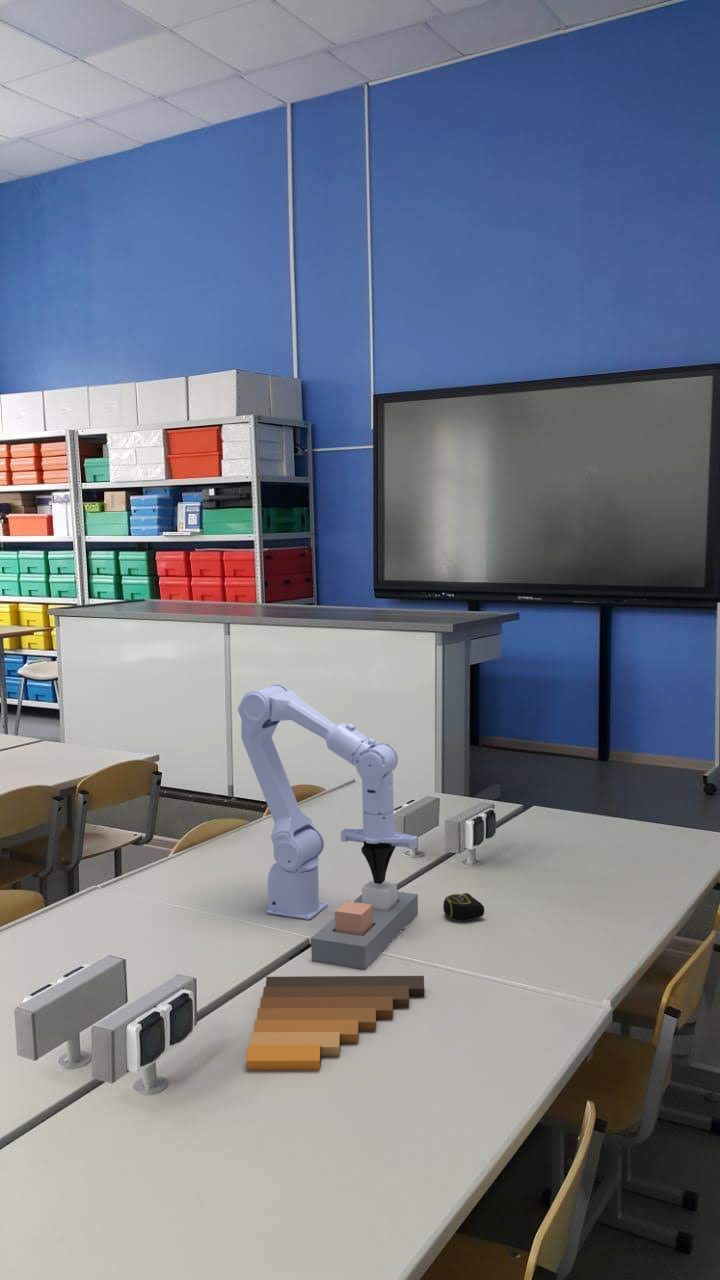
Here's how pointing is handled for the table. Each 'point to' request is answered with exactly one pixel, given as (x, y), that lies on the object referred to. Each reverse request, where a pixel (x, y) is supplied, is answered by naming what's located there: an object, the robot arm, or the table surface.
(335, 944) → the key panel
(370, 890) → the white key
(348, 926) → the terracotta key
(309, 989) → the pan flute
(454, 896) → the tape measure
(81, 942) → the table surface
